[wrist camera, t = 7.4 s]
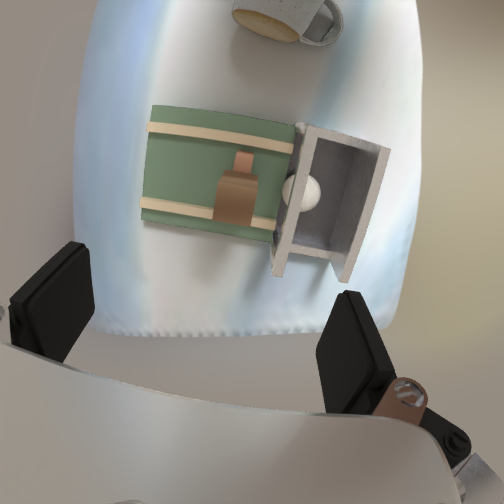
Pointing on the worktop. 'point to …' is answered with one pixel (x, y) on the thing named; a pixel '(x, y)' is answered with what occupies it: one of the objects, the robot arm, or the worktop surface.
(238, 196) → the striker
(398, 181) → the worktop surface
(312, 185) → the ball
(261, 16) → the ceramic mug
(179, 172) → the field
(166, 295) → the worktop surface
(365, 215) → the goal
